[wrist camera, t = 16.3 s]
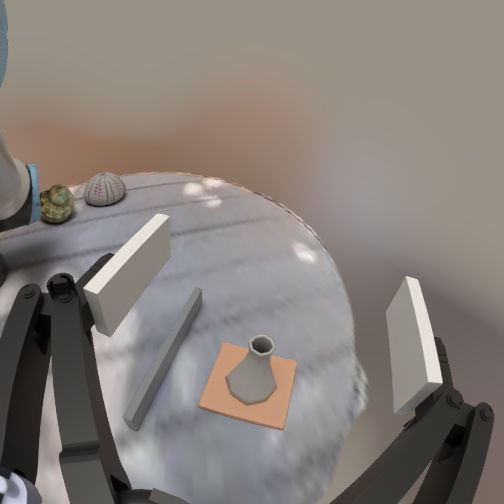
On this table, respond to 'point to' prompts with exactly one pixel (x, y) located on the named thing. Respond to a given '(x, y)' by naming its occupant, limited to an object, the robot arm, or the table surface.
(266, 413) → the terracotta tile
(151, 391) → the low wall
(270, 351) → the flask
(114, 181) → the sea urchin shell
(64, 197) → the seashell
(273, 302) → the table surface
